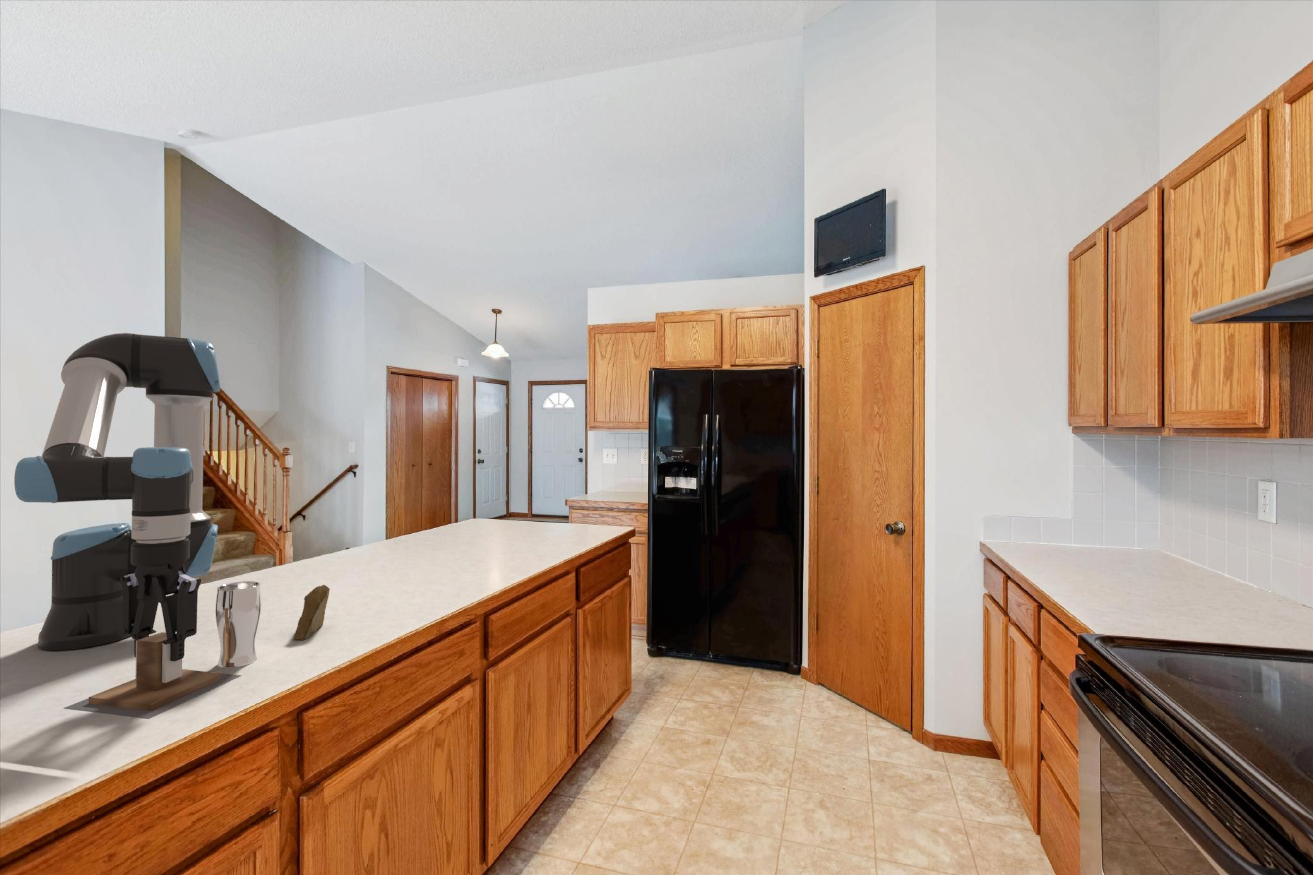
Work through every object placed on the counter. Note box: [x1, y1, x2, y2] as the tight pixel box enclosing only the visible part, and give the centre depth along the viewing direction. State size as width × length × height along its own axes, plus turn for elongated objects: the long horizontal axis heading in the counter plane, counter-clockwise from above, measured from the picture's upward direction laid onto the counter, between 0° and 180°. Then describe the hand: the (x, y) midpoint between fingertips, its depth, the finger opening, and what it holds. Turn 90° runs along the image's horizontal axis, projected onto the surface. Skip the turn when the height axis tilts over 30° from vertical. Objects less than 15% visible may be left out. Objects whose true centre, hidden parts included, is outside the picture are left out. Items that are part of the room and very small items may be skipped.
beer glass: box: [214, 580, 262, 669], centre depth 109 cm, size 7×7×15 cm
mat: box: [64, 669, 242, 720], centre depth 96 cm, size 16×16×1 cm
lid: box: [88, 631, 222, 711], centre depth 96 cm, size 12×12×9 cm
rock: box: [292, 584, 330, 640], centre depth 127 cm, size 11×9×10 cm
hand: (158, 677), depth 96 cm, fingers open, 4 cm apart
